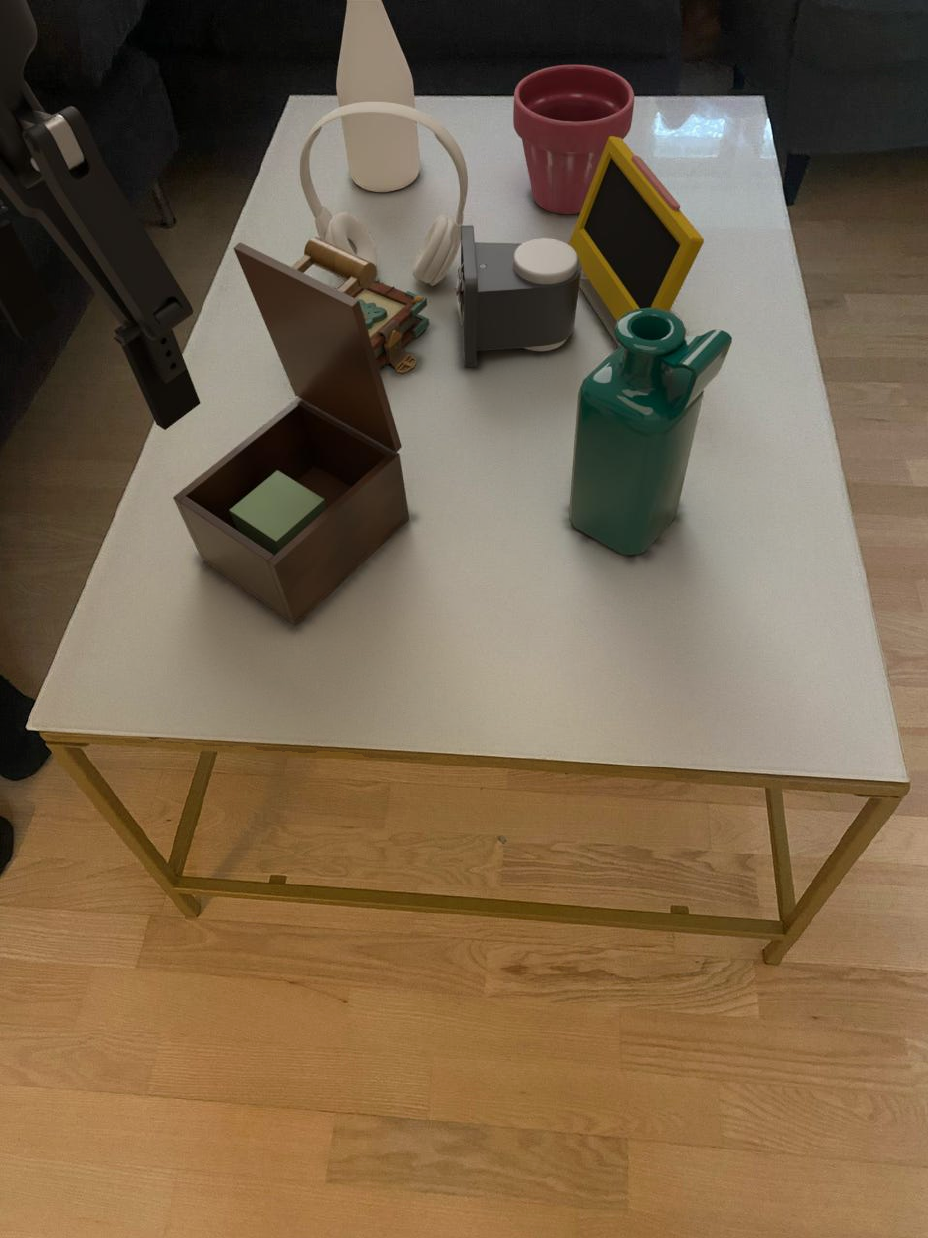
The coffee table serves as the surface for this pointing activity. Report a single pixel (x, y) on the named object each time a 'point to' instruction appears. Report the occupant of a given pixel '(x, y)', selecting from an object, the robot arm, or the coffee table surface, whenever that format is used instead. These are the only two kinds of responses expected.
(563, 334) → the light fixture
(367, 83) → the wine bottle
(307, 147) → the headphones
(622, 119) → the flower pot
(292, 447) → the bin
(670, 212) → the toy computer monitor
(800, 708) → the coffee table surface
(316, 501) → the block
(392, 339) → the decorative book
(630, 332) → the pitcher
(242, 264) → the bin lid
